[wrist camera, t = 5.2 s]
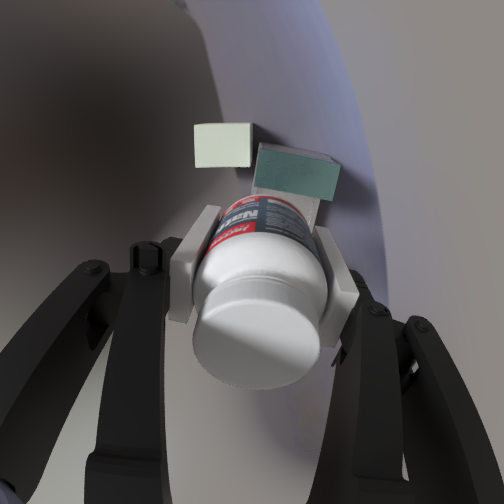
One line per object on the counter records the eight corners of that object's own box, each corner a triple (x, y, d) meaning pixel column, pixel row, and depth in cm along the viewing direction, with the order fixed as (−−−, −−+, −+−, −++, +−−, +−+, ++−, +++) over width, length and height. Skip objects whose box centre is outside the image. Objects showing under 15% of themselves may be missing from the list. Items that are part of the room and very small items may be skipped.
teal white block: (260, 140, 27) (256, 148, 21) (327, 154, 27) (343, 166, 21) (241, 254, 33) (234, 289, 27) (300, 263, 33) (306, 300, 27)
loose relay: (204, 123, 27) (194, 125, 23) (252, 122, 26) (249, 123, 23) (205, 160, 29) (195, 167, 25) (252, 160, 28) (249, 167, 25)
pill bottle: (253, 173, 15) (237, 236, 7) (327, 230, 16) (378, 335, 8) (199, 245, 17) (146, 354, 9) (270, 292, 18) (269, 414, 10)
